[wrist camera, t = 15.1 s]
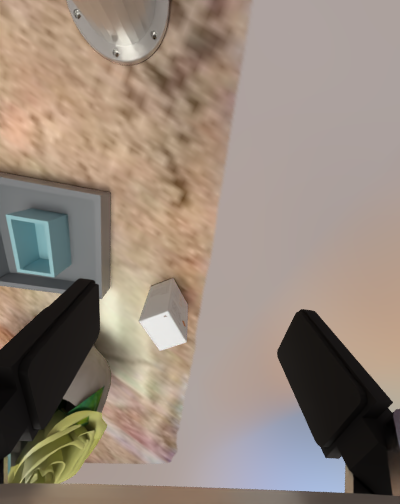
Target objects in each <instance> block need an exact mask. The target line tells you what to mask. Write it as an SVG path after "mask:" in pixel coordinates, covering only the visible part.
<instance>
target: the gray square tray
mask: <svg viewBox="0 0 400 504" xmlns="http://www.w3.org/2000/svg"><path fill="white" fill-rule="evenodd" d="M30 208H33V209H39V210H44V211H50V212H56V213H61V214H67V215H68V223H69V237H70V250H71V263H72V264H71V265H70V266H69V267H67V268H66V269H65V270H63V271H62V272H61V273H60V274H58V275H57V276H56V277H49V276H42V275H35V274H28V273H21V272H17V268H16V264H15V259H14V254H13V249H12V244H11V239H10V234H9V229H8V224H7V219H6V214H9V213H14V212H18V211H22V210H26V209H30ZM110 221H111V193H110V192H104V191H99V190H94V189H88V188H83V187H78V186H72V185H67V184H62V183H56V182H51V181H46V180H40V179H35V178H30V177H24V176H19V175H13V174H8V173H3V172H0V286H7V287H15V288H22V289H30V290H38V291H45V292H53V293H60V294H63V293H64V292H65V291H66V290H67V289H68V288H69V287H70V286H71V285H72V284H73V283H74V282H75V281H76V280H77V279H79V278H83V279H91V280H94V281H95V284H98V285H99V299H102V298H103V297H104V295H105V294H106V292H107V291H108V290H109V288H110Z"/></svg>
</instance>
